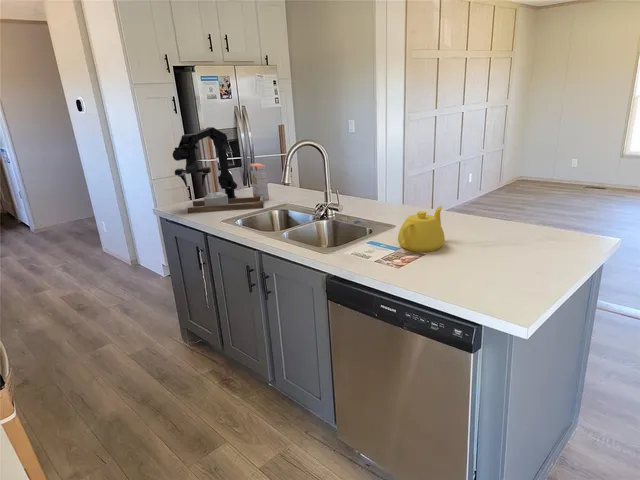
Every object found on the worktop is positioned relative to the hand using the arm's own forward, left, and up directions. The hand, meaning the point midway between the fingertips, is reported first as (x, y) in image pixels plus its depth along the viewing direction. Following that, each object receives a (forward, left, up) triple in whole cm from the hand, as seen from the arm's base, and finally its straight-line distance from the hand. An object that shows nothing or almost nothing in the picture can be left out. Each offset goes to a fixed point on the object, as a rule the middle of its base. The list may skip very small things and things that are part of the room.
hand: (194, 186), depth 240 cm
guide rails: (0, +16, -13) cm, 21 cm away
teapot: (+88, +101, -13) cm, 135 cm away
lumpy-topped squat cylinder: (0, +10, -13) cm, 17 cm away
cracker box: (-17, +35, -13) cm, 41 cm away
